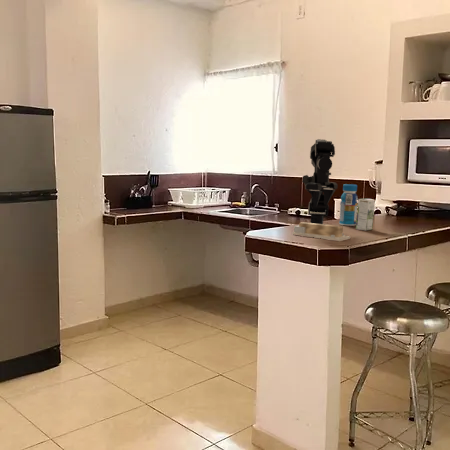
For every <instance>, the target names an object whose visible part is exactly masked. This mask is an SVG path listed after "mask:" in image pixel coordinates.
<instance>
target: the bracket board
mask: <svg viewBox="0 0 450 450" xmlns="http://www.w3.org/2000/svg"><path fill="white" fill-rule="evenodd" d="M305 228H306V227H300V226H299V224H298V225H294V227H293V231H292V235H293V236H294V235H295V236H302V237H308V238H313V237H314V238H315V239H320V238H321V240H329V241H336V242H342V241H345V240H350V239H351V235H345V233H344V232H343V234H342V236H341V237H335V235H331V236H326V235H318V234H310V233H305Z"/></svg>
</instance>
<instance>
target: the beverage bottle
mask: <svg viewBox="0 0 450 450" xmlns="http://www.w3.org/2000/svg"><path fill="white" fill-rule="evenodd" d="M342 191H343V193H342V194H341V196H340V203H339V204H340V207H339V223H338V224H339V226H347V227H353V226H355V227H356V219H357V208H358V199H359V198H358V194H357V191H358V185H357V184H353V183H351V184H350V183H349V184H347V183H345V184H343V186H342Z"/></svg>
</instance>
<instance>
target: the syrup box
mask: <svg viewBox="0 0 450 450" xmlns="http://www.w3.org/2000/svg"><path fill="white" fill-rule="evenodd" d="M357 203H358V206H357V216H356V225H355V230H359V231H371V230H373V227H374V216H375V207H376V206H375V204H376V200H375V199H372V198H358V200H357Z"/></svg>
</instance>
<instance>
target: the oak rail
mask: <svg viewBox="0 0 450 450" xmlns="http://www.w3.org/2000/svg"><path fill="white" fill-rule="evenodd" d="M298 225H299V226H300V227H306V228H305V233H310V234H318V235H326V236H331V235H335V237H341V236H342V234H343V233H344V232H343V231H344V225H332V224H324V223H323V224H316V223H310V222H306V221H302V222H299V223H298Z"/></svg>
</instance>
